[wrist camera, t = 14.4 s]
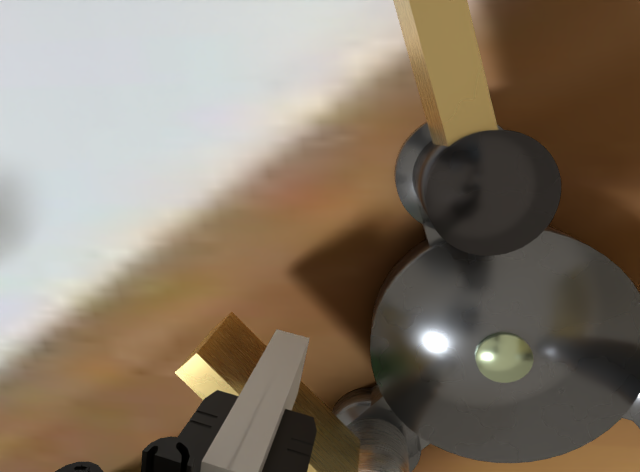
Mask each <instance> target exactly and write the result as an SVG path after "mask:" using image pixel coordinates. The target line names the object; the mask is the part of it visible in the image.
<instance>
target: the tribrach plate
mask: <svg viewBox="0 0 640 472" xmlns="http://www.w3.org/2000/svg"><path fill="white" fill-rule="evenodd" d="M497 127H498V130H503V129H502V128H501V127H500V126H498V125H497ZM430 141H432V138H431V134H430V130H429V127H428V123H425V124H423V125H422V126H420V127H419V128H417V129H416V130H415V131H414V132H413V133H412V134H411V135H410V136H409V137H408V138H407V140H406V141H405V143H404V144H403V146H402V147H401V150H400V152H399V154H398V157H397V160H396V165H395V182H396V187H397V191H398V194H399V197H400V200H401V202H402V204H403V206H404V207H405V208H406V210H407V211H408V212H409V214H410V215H411V216H412V217H413V218H415V219H416V220H417V221H418V222H420V223H421V224H422V225H423V229H424V232H425V236H426V239H425V240H424V241H422V242H420V243H419V244H417V245H416V246H415V247H414V248H412V249H411V250H410V251H409V252H408V253H406V254H405V255H404V256H403V257H402V258H401V259H400V260H399V261H398V263H397V264H396V265H395V266H394V267H393V269H392V270H391V271H390V273H389V274H388V276H387V277H386V279H385V280H384V282H383V284H382V286H381V288H380V290H379V293H378V296H377V298H376V301H375V304H374V310H373V315H372V325H371V344H370V354H371V364H372V369H373V373H374V377H375V380H376V382H377V384H376V385H374V386H373V387H372V388H362V389H357V390H354V391H351V392H349V393H347V394H346V395H344V396H343V397H342V398H341V399H340V400H339V401H338V402H337V403H336V404H335V406H334V408H333V411H332V413H333V414H334V415H335V416H336V417H337V418H338V419H339V420H340V421H341V422H342V423H343V424H344V425H345V426H347V425H349V424H350V423H351V422H353V421H355V420H358V419H362V418H378V419H382V420H385V421H387V422H389V423H391V424H393V425H394V426H395V427H397V428H398V429H399V430H400V431H401V433H402V434H403V435H404V437H405V439H406V442H407V448H408V461H409V472H412V470H413V469H414V468H415V467H416V465H417V464H418V461H419V459H420V455H421V450H422V449H423V448H425V447H426V446H428V445H429V444H430V443H431V444H433V445H435V446H437V447H439V448H441V449H443V450H445V451H448V452H451V453H453V454H456V455H459V456H462V457H466V458H470V459H475V460H479V461H487V462H494V463H520V462H531V461H537V460H543V459H548V458H551V457H555V456H558V455H562V454H565V453H567V452H570V451H572V450H575V449H577V448H580V447H581V446H583V445H585V444H587V443H589V442H591V441H593V440H594V439H596V438H597V437H599V436H600V435H602V434H603V433H605V432H606V431H607V430H609V429H610V428H611V427H612V426H613V425H614V424H615V423H617V422H618V421H619V420H620V419H621V418H625V419H628V420H632V421H634V423H635V424H636V425H637V426H638V427H639V428H640V293H639V292H638V290H637V289H636V287H635V286H634V284H633V282H632V281H631V280H630V279H629V278H628V277H627V275H626V274H625V273H624V272H623V271H622V270H621V269H620V268H619V267H618V266H617V265H616V264H614V263H613V262H612V261H611V260H610V259H608V258H607V257H606V256H604V255H603V254H601V253H600V252H598V251H596V250H595V249H593V248H591V247H590V246H588V245H586V244H584V243H582V242H581V241H579V240H577V239H575V238H573V237H571V236H570V235H568V234H566V233H564V232H561V231H559V230H557V229H554V228H552V227H550V226H547V227H546V229H545V230H544V231H543V232H542V233H541V234H540V235H539V236H538V237H537V238H536V239H534V240H533V241H532V242H530V243H529V244H527V245H525V246H524V247H522V248H520V249H518V250H515V251H513V252H509V253H506V254H501V255H494V256H480V255H474V254H470V253H466V252H464V251H461V250H459V249H457V248H455V247H453V246H452V245H450V244H449V243H448V242H446V241H445V240H444V239H443V238H442V237H441V236H440V235H439V234H438V232H437V231H436V229H435V228H434V226H433V224H432V223H431V221H430V219H429V217H428V215H427V213H426V212H425V210H424V208H423V206H422V204H421V202H420V201H419V199H418V197H417V195H416V193H415V190H414V187H413V181H412V172H413V167H414V164H415V161H416V159H417V157H418V155H419V153H420V152H421V151H422V149H423V148H424V147H425V146H426V145H427V144H428V143H429V142H430Z"/></svg>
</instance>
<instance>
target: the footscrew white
mask: <svg viewBox="0 0 640 472" xmlns="http://www.w3.org/2000/svg"><path fill="white" fill-rule="evenodd" d="M265 349H266V346H265V345H264V344H263V343H262V342H261V341H260V340H259V339H258V338H257V337H256V336H255V335H254V334H253V333H252V332H251V331H250V330H249V329H248V328H247V327H246V326H245V325H244V324H243V323H242V321H241V320H240V319H239V318H238V317H237V316H236V315H235V314H234V313H233V312H231V313H230V314H229V315H228V316H227V317H226V318H224V319H223V320H222V321H221V322H220V323H219V324H218V325H217V326H216V327H215V328H213V330H212V331H211V332H210V333H209V334H208V335H207V336H206V338H205V339H204V340H203V341H202V342H201V343H200V344H199V346H198V347H197V348H196V349H195V350H194V351H193V352H192V354H191V355H190V356H189V357H188V358H187V359H186V360H185V362H184V363H183V364H182V365H181V366H180V367H179V368H178V370H177V371H176V372H175V373H176V374H177V375H178V376H179V377H180V378H181V379H182V380H183V381H184V382H185V383H186V384H187V385H188V386H189V387H190V388H191V389H192V390H193V391H194V392H195V393H196V394H197V395H198V396H199V397H200V398H201V399H203V400H204V399H205V398H206V397H207V396H209V395H210V394H212V393H213V392H215V391H216V390H220V391H223V392H226V393H230V394H233V395H236V396H239V395H240V393H241V391H242V390H243V388H244V386H245V384H246V382H247V381H248V379H249V377H250V375H251V374H252V372H253V370H254V368H255V367H256V365H257V363H258V361H259V360H260V358H261V356H262V354H263V353H264V351H265ZM292 411H294V412H298V413H301V414H304V415H308V416H311V417H314V421H315V425H316V429H317V432H316V437H315V441H314V445H313V449H312V453H311V458H310V462H309V466H308V470H307V472H409V461H408V448H407V442H406V439H405V437H404V435H403V434H402V433H401V431H400V430H399V429H398V428H397V427H395V426H394V425H393V424H391V423H389V422H387V421H385V420H382V419H378V418H362V419H358V420H355V421H353V422H351V423H350V424H349V425H347V426H345V425H344V424H343V423H342V422H341V421H340V420H339V419H338V418H337V417H336V416H335V415H334V414H333V413H332V412H331V411H330V410H329V409H328V408H327V407H326V406H325V405H324V404H323V403H322V402H321V401H320V400H319V399H318V398H317V397H316V396H315V395H314V394H313V393H312V392H311V391H310V390H309V389H308V388H307V387H306V386H305V385H304V384H303V383H302V382H301V381H300V385H299V390H298V394H297V397H296V400H295V403H294V405H293V408H292Z"/></svg>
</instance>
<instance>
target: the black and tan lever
mask: <svg viewBox="0 0 640 472" xmlns="http://www.w3.org/2000/svg"><path fill="white" fill-rule="evenodd" d="M393 1H394V5H395V8H396V12H397V15H398V19H399V23H400V26H401V30H402V33H403V37H404V41H405V44H406V48H407V51H408V55H409V58H410V62H411V66H412V69H413V73H414V76H415V80H416V84H417V87H418V91H419V94H420V98H421V102H422V105H423V109H424V112H425V116H426V120H427V123H428V127H429V130H430V134H431V138H432V141H430V142H429V143H428V144H427V145H426V146H425V147H424V148H423V149H422V151H421V152H420V153H419V155H418V157H417V159H416V161H415V164H414V167H413V172H412V181H413V187H414V190H415V193H416V195H417V197H418V199H419V201H420V202H421V204H422V206H423V208H424V210H425V212H426V213H427V215H428V217H429V219H430V221H431V223H432V224H433V226H434V228H435V229H436V231H437V232H438V234H439V235H440V236H441V237H442V238H443V239H444V240H445V241H446V242H448V243H449V244H450V245H452V246H453V247H455V248H457V249H459V250H461V251H464V252H466V253H470V254H474V255H480V256H494V255H501V254H506V253H509V252H513V251H515V250H518V249H520V248H522V247H524V246H525V245H527V244H529V243H530V242H532V241H533V240H534V239H536V238H537V237H538V236H539V235H540V234H541V233H542V232H543V231H544V230H545V229H546V227H547V226H548V225H549V224H550V222H551V220H552V219H553V217H554V215H555V213H556V211H557V208H558V205H559V201H560V196H561V179H560V174H559V170H558V167H557V165H556V163H555V161H554V159H553V157H552V156H551V154H550V153H549V152H548V151H547V150H546V148H545V147H544V146H542V145H541V144H540V143H539V142H538V141H536V140H534V139H533V138H531V137H529V136H527V135H524V134H522V133H518V132H515V131H509V130H498V127H497V123H496V119H495V114H494V110H493V106H492V102H491V98H490V94H489V90H488V85H487V81H486V77H485V73H484V69H483V65H482V61H481V56H480V52H479V48H478V44H477V40H476V36H475V32H474V27H473V23H472V19H471V15H470V11H469V7H468V3H467V0H393Z"/></svg>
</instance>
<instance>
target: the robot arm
mask: <svg viewBox="0 0 640 472" xmlns="http://www.w3.org/2000/svg"><path fill="white" fill-rule="evenodd" d="M308 343H309V338H307V337H303V336H299V335H296V334H292V333H288V332H284V331H281V330H276V332H275V333H274V335H273V337H272V339H271V340H270V342H269V344H268V346H267V347H266V349H265V351H264V353H263V354H262V356H261V358H260V360H259V361H258V363H257V365H256V367H255V368H254V370H253V372H252V374H251V375H250V377H249V379H248V381H247V382H246V384H245V386H244V388H243V390H242V391H241V393H240V395H239V396H236V395H233V394H230V393H226V392H223V391H220V390H216V391H215V392H213V393H212V394H210V395H209V396H207V397H206V398H205V399H204V400H203V402H202V403H201V404H200V406H199V407H198V409H197V411H196V412H195V413H194V414H193V416H192V417H191V419H190V421H189V422H188V423H187V425H186V426H185V427H184V429H183V430H182V432H181V433H180V435H179V436H178V438H177V437H166V438H160V439H158V440H156V441H154V442H152V443H150V444H149V445H148V446H147V447H146V448H145V449H144V450H143V451H142V466H141V472H307V470H308V466H309V462H310V458H311V453H312V449H313V445H314V441H315V437H316V432H317V429H316V425H315V421H314V417H311V416H308V415H304V414H301V413H298V412H294V411H292V408H293V405H294V403H295V400H296V397H297V394H298V390H299V385H300V381H301V376H302V371H303V366H304V362H305V357H306V352H307V347H308ZM55 472H103V471H102V470H101V468H100V467H99V466H98V465H96V464H94V463H91V462H76V463H73V464H69V465H66V466H64V467H62V468H61V469H59V470H57V471H55Z"/></svg>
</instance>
